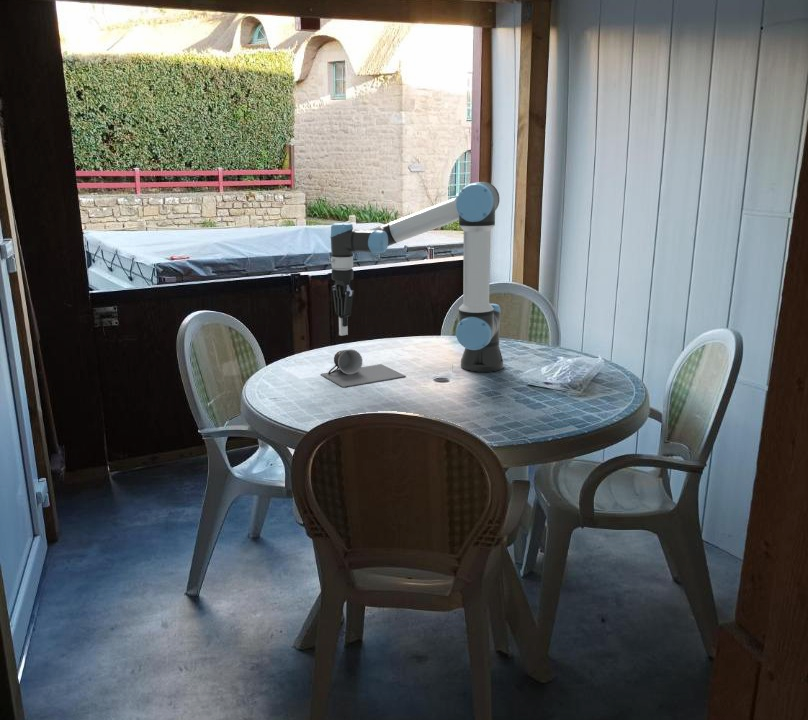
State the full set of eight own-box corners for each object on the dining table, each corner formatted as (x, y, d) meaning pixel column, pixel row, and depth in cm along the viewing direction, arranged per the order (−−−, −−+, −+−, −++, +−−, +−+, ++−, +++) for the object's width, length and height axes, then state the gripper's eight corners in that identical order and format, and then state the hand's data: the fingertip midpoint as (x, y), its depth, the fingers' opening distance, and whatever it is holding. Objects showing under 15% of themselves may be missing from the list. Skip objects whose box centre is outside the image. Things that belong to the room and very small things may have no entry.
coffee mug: (353, 345, 269) (361, 348, 260) (355, 369, 270) (363, 372, 261) (321, 349, 265) (328, 351, 256) (323, 373, 266) (330, 377, 257)
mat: (405, 376, 259) (405, 375, 258) (342, 387, 247) (342, 386, 246) (381, 365, 273) (381, 364, 272) (320, 374, 261) (320, 373, 260)
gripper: (324, 266, 265) (325, 332, 272) (341, 271, 255) (342, 339, 261) (343, 265, 269) (344, 329, 275) (360, 270, 258) (361, 337, 265)
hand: (343, 334), depth 268 cm, fingers closed
